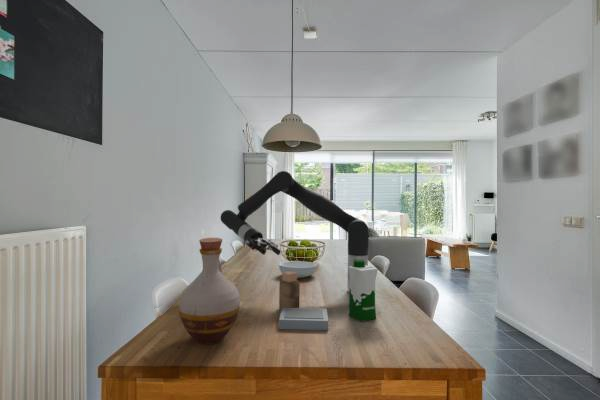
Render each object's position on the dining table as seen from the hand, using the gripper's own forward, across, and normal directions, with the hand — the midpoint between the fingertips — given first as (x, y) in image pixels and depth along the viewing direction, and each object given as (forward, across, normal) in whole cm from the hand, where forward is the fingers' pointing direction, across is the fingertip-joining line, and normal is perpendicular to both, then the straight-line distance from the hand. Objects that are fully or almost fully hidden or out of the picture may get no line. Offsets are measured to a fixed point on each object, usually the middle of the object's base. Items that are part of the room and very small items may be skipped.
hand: (272, 252), depth 136 cm
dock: (+32, -7, +10) cm, 34 cm away
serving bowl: (-15, +44, +22) cm, 52 cm away
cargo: (+15, -1, +4) cm, 15 cm away
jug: (+21, -35, +19) cm, 45 cm away
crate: (+19, 0, +14) cm, 23 cm away
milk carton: (+42, +11, +3) cm, 44 cm away
